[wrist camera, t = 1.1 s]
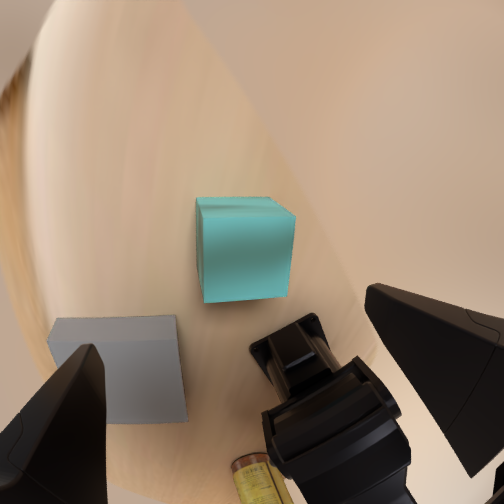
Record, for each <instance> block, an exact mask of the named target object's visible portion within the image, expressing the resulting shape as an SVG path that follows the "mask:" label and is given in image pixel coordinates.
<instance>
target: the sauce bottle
mask: <svg viewBox="0 0 504 504" xmlns="http://www.w3.org/2000/svg"><path fill="white" fill-rule="evenodd" d="M232 472H233V479H234V482H235V485H236V488H237V491H238V494H239V497H240V500H241V503H242V504H294V503H293V501H292V498H291V496H290V494H289V492H288V490H287V488H286V485H285V483H284V480H283V478H282V476H281V474H280V471H279V470H278V468H275V467H272V466H271V465H270V463H269V456H268V454H263V453H258V454H251V455H247V456H244V457H242V458H239V459H238V460H237V461H235V462H234V463H233V465H232Z"/></svg>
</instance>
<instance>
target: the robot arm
mask: <svg viewBox="0 0 504 504" xmlns="http://www.w3.org/2000/svg"><path fill="white" fill-rule="evenodd" d="M364 307H365V312H366V314H367V315H368V317H369V319H370V321H371V322H372V324H373V326H374V328H375V329H376V331H377V333H378V335H379V337H380V338H381V340H382V342H383V344H384V345H385V347H386V348H387V350H388V351H389V353H390V354H391V355H392V357H393V358H394V360H395V361H396V362H397V364H398V365H399V367H400V368H401V370H402V371H403V373H404V374H405V376H406V377H407V379H408V380H409V381H410V383H411V384H412V386H413V387H414V389H415V390H416V392H417V393H418V395H419V396H420V398H421V400H422V401H423V402H424V404H425V406H426V407H427V409H428V410H429V412H430V413H431V415H432V416H433V418H434V419H435V421H436V423H437V424H438V426H439V427H440V429H441V431H442V432H443V433H444V436H445V437H446V439H447V440H448V442H449V444H450V445H451V447H452V449H453V450H454V452H455V453H456V455H457V457H458V458H459V460H460V462H461V463H462V465H463V467H464V468H465V470H466V472H467V474H468V475H469V477H470V478H472V477H474V476H475V475H476V474H477V473H478V472H479V471H480V470H482V469H483V468H484V467H485V466H486V465H487V464H488V463H489V462H491V461H492V460H493V459H494V458H495V457H496V456H497V455H498V454H499V453H500V452H501V451H502V450H503V449H504V319H503V318H498V317H495V316H490V315H486V314H482V313H479V312H476V311H472V310H469V309H464V308H462V307H458V306H455V305H452V304H448V303H445V302H442V301H438V300H435V299H432V298H428V297H425V296H422V295H418V294H415V293H411V292H408V291H404V290H401V289H397V288H394V287H390V286H388V285H384V284H381V283H375V284H372V285H369V286H368V287H367V290H366V298H365V305H364ZM312 318H313V319H312ZM311 319H312V320H311ZM255 348H257V349H255ZM249 349H250V351H251V353H252V355H253V357H254V358H255V360H256V361H257V363H258V364H259V366H260V367H261V368H262V370H263V371H264V373H265V374H266V376H267V377H268V379H269V380H270V382H271V383H272V385H273V386H274V387H275V389H276V392H277V394H278V396H279V399H280V401H281V403H282V404H280V405H278V406H276V407H274V408H272V409H271V410H269V411H268V410H266V411H264V412H263V413H261V414H262V420H263V421H262V425H263V431H264V437H265V442H266V448H267V453H268V456H269V463H270V465H271V466H272V467H275V468H278V470H279V471H280V472H281V474H282V475H283V476H284V477H286V478H287V479H290V480H291V479H293V480H294V482H295V483H296V485H297V486H298V488H299V489H300V491H301V493H302V495H303V496H304V498H305V500H306V502H307V503H308V504H417V502H416V501H415V499H414V498H413V496H412V495H411V493H410V491H409V490H408V488H407V487H406V476H407V466H409V465H410V464H411V448H410V446H409V442H408V439H407V438H406V436H405V435H404V433H403V431H402V430H401V428H400V426H399V425H398V423H397V421H396V419H397V418H399V417H400V416H401V415H402V414H401V411H400V408H399V407H398V404H397V403H396V401H395V399H394V398H393V396H392V395H391V393H390V392H389V390H388V389H387V387H386V386H385V385H384V384H383V382H382V381H381V380H380V379H379V378H378V377H377V376H376V375H375V374H374V372H373V371H372V370H371V369H370V368H369V367H368V366H367V365H366V364H365V363H364V362H363V361H362V360H361V359H360V358H359V357H358V356H356V357H355V358H353V359H352V361H351V362H349V363H348V364H346V365H345V366H343V367H341V365H340V364H339V362H338V361H337V360H336V358H335V357H334V355H333V354H332V352H331V350H330V348H329V345H328V342H327V339H326V337H325V334H324V331H323V329H322V326H321V324H320V321H319V318H318V316H317V315H316V314H315V313H310V314H308V315H306V316H305V317H303V318H301V319H299V320H297V321H295V322H294V323H292V324H290V325H288V326H286V327H284V328H282V329H280V330H278V331H277V332H275V333H273V334H271V335H269V336H267V337H265V338H263V339H261V340H259V341H257V342H255V343H253V344H252V345H251V346H250V348H249ZM106 420H107V404H106V385H105V366H104V363H103V361H102V359H101V357H100V355H99V353H98V351H97V348H96V347H95V345H94V344H93V343H88V344H82V345H80V346H79V347H78V348H77V349H76V350H75V351H74V352H73V354H72V355H71V356H70V357H69V358H68V359H67V360H66V361H65V362H64V363H63V364H62V365H61V366H60V367H59V368H58V369H57V371H56V372H55V373H54V374H53V375H52V376H51V377H50V378H49V379H48V380H47V381H46V382H45V384H44V385H43V386H42V387H41V388H40V389H39V390H38V391H37V392H36V393H35V395H34V396H33V397H32V398H31V399H30V400H29V401H28V402H27V404H26V405H25V406H24V407H23V408H22V409H21V411H20V413H18V414H17V415H16V416H15V417H14V419H13V420H12V421H11V422H10V423H9V424H8V425H7V427H6V428H5V429H4V430H3V431H2V432H1V433H0V504H108V499H107V480H106ZM485 504H504V462H503V463H502V464H501V465H500V466H499V467H498V468H497V469H496V474H495V482H494V489H493V496H492V497H491V498H490V499H489V500H488V501H487V502H486V503H485Z"/></svg>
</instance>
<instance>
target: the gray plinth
mask: <svg viewBox="0 0 504 504" xmlns="http://www.w3.org/2000/svg"><path fill="white" fill-rule="evenodd" d="M47 343H48V346H49V349H50V351H51V354H52V356H53V358H54V361H55V363H56V366H57V368H59V367H60V366H61V365H62V364H63V363H64V362H65V361H66V360H67V359H68V358H69V357H70V356H71V355H72V354H73V352H74V351H75V350H76V349H77V348H78V347H79V346H80V345H82V344H88V343H93V344H94V345H95V347H96V348H97V351H98V353H99V355H100V357H101V359H102V361H103V363H104V366H105V385H106V404H107V420H106V424H160V423H179V422H188V415H187V407H186V399H185V393H184V386H183V378H182V371H181V363H180V355H179V346H178V337H177V328H176V317H175V315H164V316H142V317H111V318H57V319H56V321H55V323H54V325H53V328H52V330H51V332H50V334H49V336H48V339H47Z"/></svg>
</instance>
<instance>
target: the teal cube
mask: <svg viewBox="0 0 504 504" xmlns="http://www.w3.org/2000/svg"><path fill="white" fill-rule="evenodd" d="M295 221H296V216H295V215H293V214H292V213H291V212H289V211H288V210H286V209H285V208H284V207H282V206H281V205H280V204H278V203H277V202H275V201H274V200H273V199H271V198H270V197H198V198H196V252H197V270H198V275H199V280H200V285H201V290H202V295H203V300H204V303H214V302H228V301H241V300H253V299H264V298H275V297H286V296H287V292H288V284H289V276H290V267H291V258H292V250H293V240H294V231H295Z"/></svg>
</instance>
